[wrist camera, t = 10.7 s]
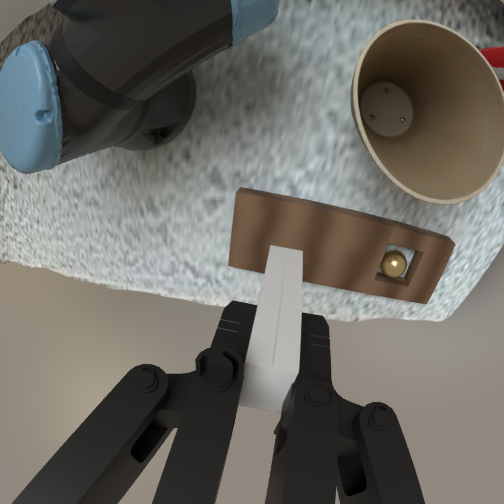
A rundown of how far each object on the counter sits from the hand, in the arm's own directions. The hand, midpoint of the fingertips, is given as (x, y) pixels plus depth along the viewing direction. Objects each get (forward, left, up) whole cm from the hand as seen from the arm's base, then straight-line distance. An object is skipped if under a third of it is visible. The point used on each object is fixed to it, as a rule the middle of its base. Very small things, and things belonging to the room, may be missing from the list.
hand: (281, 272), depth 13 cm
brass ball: (+16, -9, -22) cm, 29 cm away
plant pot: (+10, +11, -24) cm, 29 cm away
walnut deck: (+9, -9, -24) cm, 27 cm away
